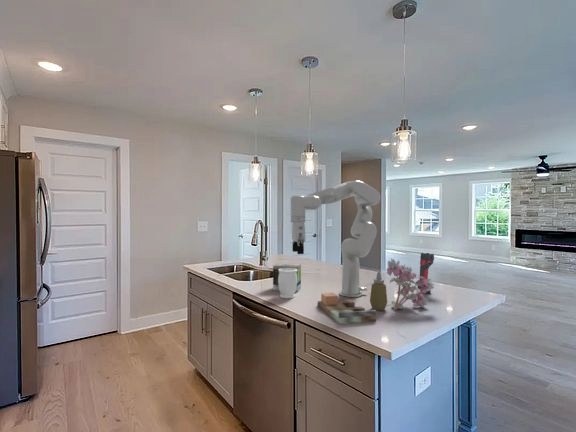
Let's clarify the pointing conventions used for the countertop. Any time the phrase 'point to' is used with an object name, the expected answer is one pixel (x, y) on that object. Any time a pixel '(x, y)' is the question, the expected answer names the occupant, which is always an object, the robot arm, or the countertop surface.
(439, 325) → the countertop surface
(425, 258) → the flashlight
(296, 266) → the tea box
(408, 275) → the flower
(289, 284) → the jar
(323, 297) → the block
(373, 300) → the squeeze bottle
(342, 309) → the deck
